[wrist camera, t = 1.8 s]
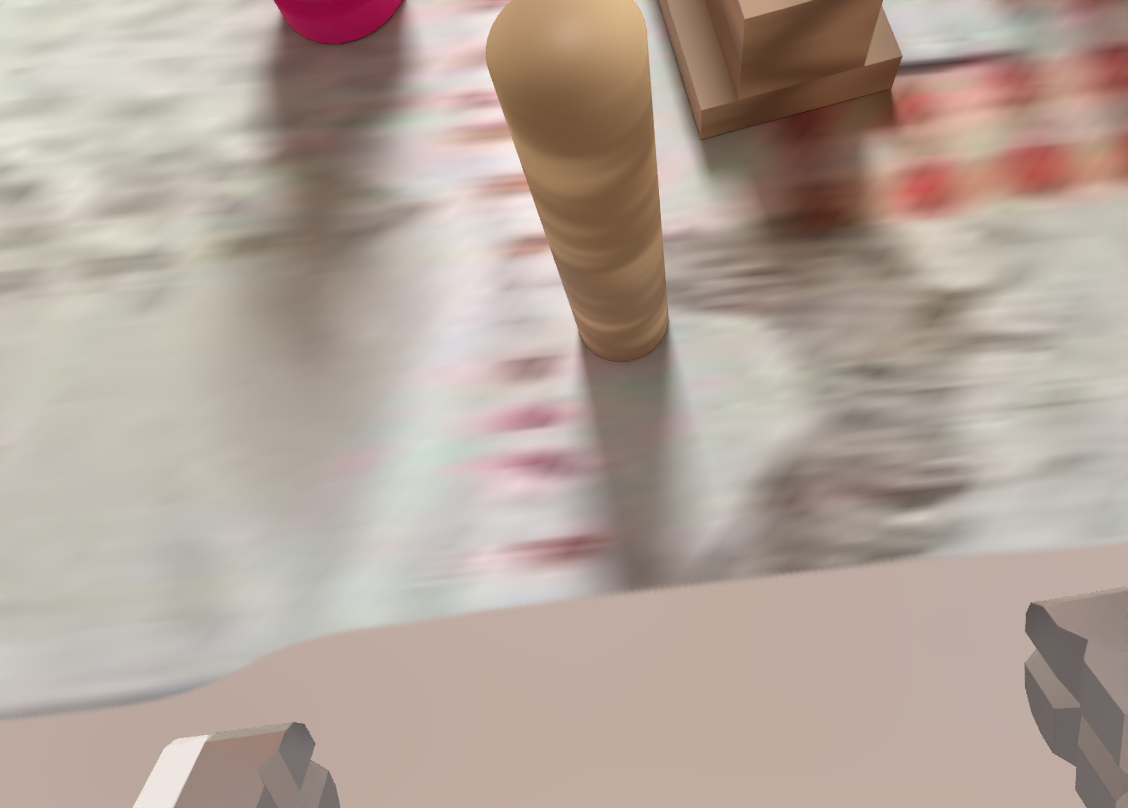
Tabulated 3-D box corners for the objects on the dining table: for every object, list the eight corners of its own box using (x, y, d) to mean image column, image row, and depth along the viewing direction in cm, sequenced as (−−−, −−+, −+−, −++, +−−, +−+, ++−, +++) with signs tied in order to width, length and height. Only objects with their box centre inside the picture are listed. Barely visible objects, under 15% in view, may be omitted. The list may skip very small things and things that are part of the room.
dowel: (588, 371, 34) (501, 132, 19) (569, 290, 35) (473, 1, 20) (678, 349, 33) (664, 86, 18) (656, 268, 35) (625, -43, 19)
